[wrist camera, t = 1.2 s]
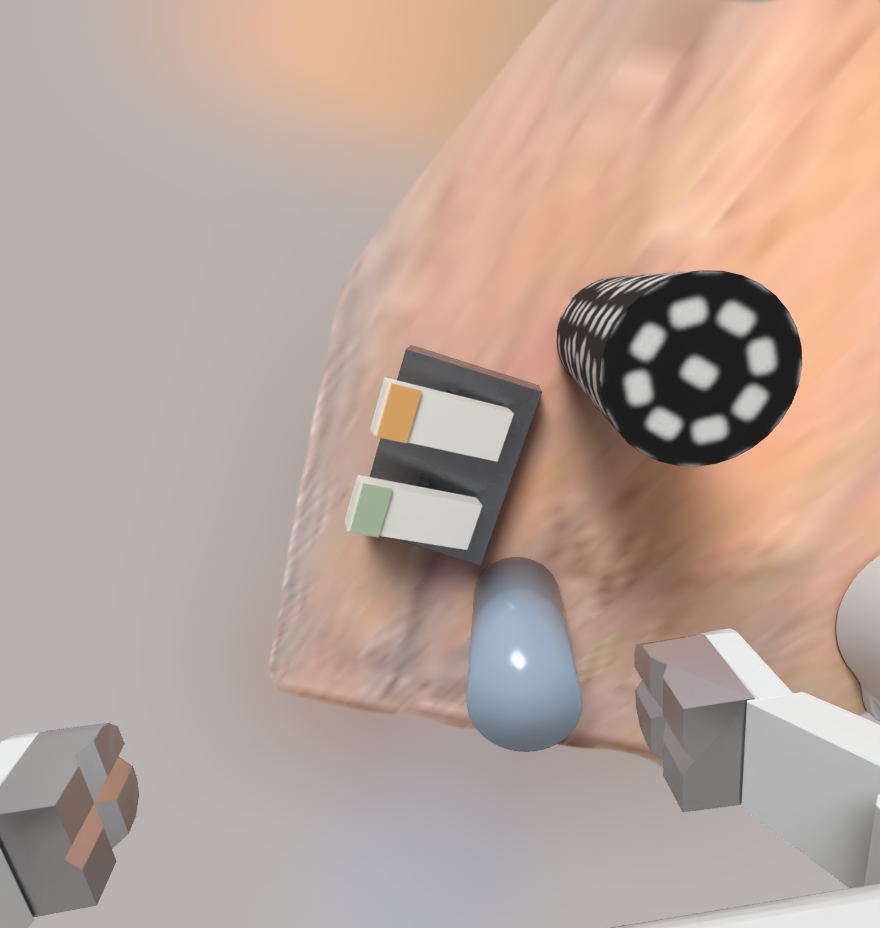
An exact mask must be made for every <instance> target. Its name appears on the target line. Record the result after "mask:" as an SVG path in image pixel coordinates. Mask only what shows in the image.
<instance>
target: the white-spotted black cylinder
mask: <svg viewBox="0 0 880 928" xmlns="http://www.w3.org/2000/svg"><path fill="white" fill-rule="evenodd" d="M557 348H558V354H559V356H560V359H561V362H562V364H563V366H564V367H565V369H566V371H567V372H568V373H569V375H570V376H571V377H572V378H573V379H574V381H575V382H576V383H577V384H578V385H579V386H580V388H581V389H582V390H583V391H584V392H585V393H586V395H587V396H588V397H589V398H590V399H591V401H592V402H593V403H594V404H595V405H596V406H597V408H598V409H599V410H600V411H601V412H602V414H603V415H604V416H605V417H606V418H607V419H608V421H609V422H610V423H611V424H612V425H613V426H614V428H615V429H616V430H617V431H618V432H619V433H620V434H621V436H622V437H623V438H624V439H625V440H626V441H627V442H628V443H629V444H630V445H632V446H633V447H634V448H636V449H637V450H638V451H640V452H641V453H643V454H644V455H647V456H649V457H651V458H653V459H656V460H658V461H660V462H664V463H669V464H673V465H677V466H703V465H710V464H716V463H719V462H722V461H725V460H728V459H732V458H735V457H736V456H738V455H740V454H742V453H744V452H746V451H748V450H749V449H751V448H753V447H754V446H755V445H757V444H758V443H759V442H760V441H762V440H763V439H764V438H765V437H767V436H768V435H769V434H770V433H771V432H772V430H773V429H774V428H775V427H776V426H777V425H778V424H779V423H780V421H781V420H782V419H783V417H784V415H785V414H786V412H787V410H788V409H789V407H790V406H791V404H792V401H793V399H794V396H795V394H796V391H797V388H798V386H799V381H800V375H801V369H802V349H801V343H800V339H799V335H798V331H797V327H796V325H795V323H794V321H793V319H792V317H791V315H790V313H789V311H788V310H787V308H786V307H785V306H784V305H783V304H782V302H781V301H780V300H779V299H778V298H777V296H776V295H774V294H773V293H772V292H770V291H769V290H768V289H767V288H765V287H764V286H763V285H761V284H760V283H758V282H756V281H753V280H751V279H749V278H747V277H745V276H743V275H739V274H734V273H730V272H725V271H690V272H676V273H663V274H649V275H636V276H622V277H612V278H607V279H602V280H599V281H597V282H594V283H592V284H590V285H588V286H587V287H585V288H584V289H582V290H581V291H580V292H579V293H577V294H576V295H575V296H574V297H573V298H572V299H571V301H570V302H569V304H568V305H567V306H566V308H565V310H564V312H563V314H562V316H561V318H560V321H559V325H558V329H557Z"/></svg>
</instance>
